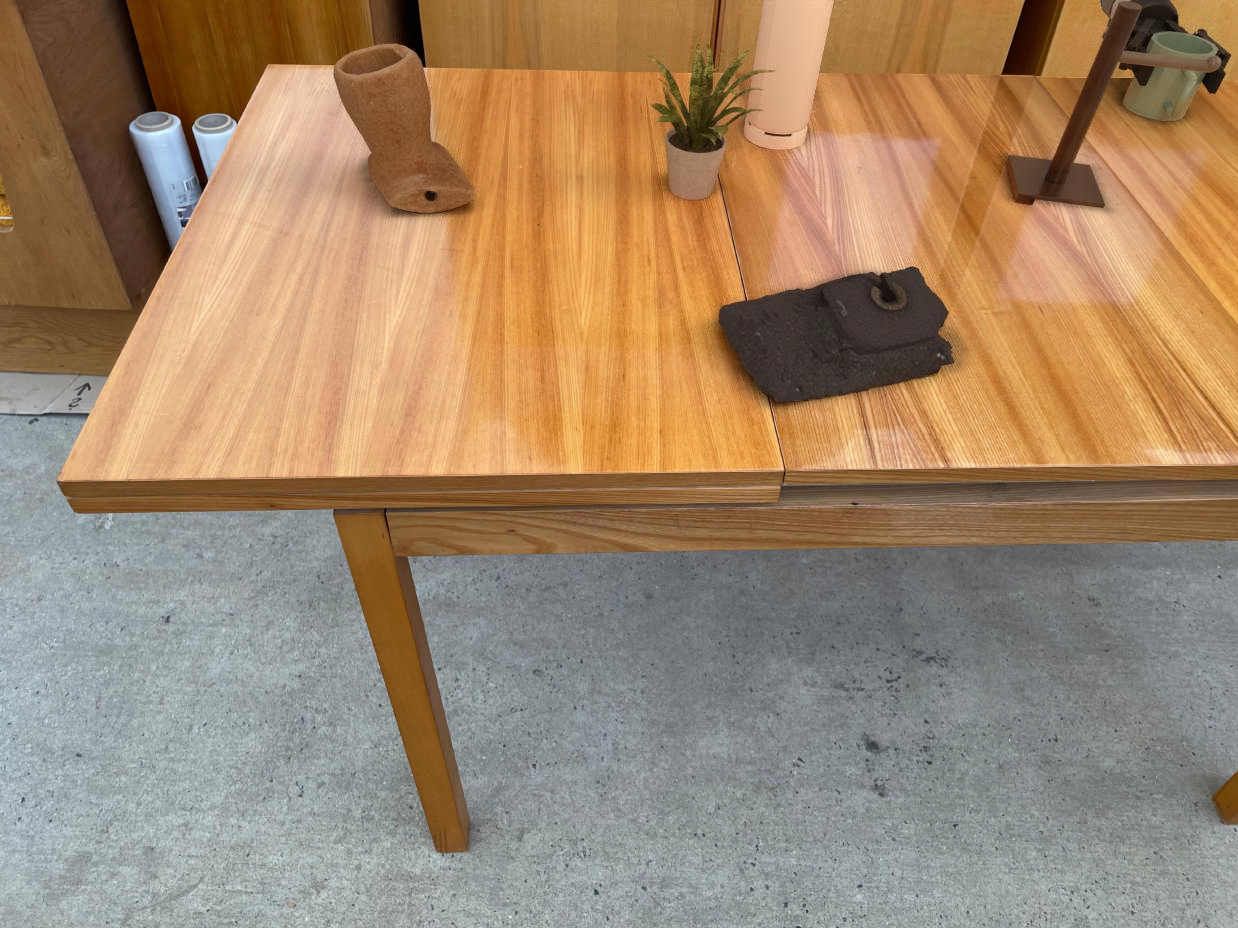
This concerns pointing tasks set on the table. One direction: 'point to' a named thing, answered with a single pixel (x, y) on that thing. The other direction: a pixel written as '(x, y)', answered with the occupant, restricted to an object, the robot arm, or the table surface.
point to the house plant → (699, 125)
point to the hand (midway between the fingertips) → (1182, 79)
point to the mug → (1169, 78)
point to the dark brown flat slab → (840, 335)
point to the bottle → (786, 71)
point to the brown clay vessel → (399, 129)
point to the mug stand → (1089, 120)
